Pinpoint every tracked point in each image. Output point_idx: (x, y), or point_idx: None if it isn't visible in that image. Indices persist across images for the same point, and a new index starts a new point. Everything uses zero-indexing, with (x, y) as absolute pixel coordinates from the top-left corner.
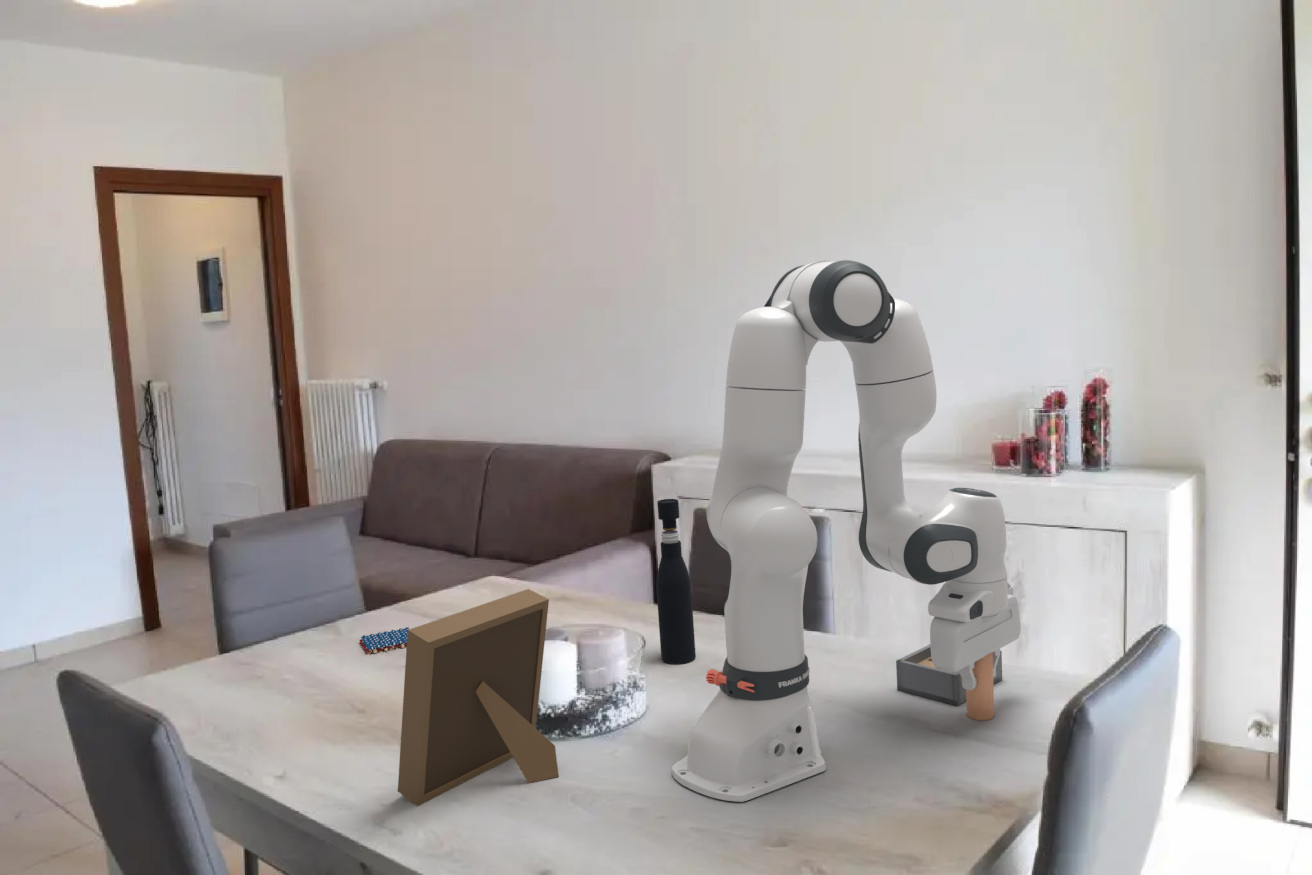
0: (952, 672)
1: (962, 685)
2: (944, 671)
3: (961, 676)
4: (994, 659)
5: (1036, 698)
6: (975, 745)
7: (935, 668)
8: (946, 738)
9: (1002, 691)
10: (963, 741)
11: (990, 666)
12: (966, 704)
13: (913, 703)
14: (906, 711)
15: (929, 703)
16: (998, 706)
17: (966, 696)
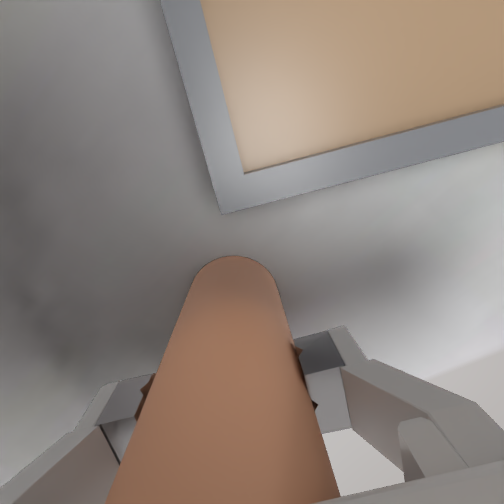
0: (236, 164)
1: (99, 390)
2: (209, 112)
3: (61, 440)
4: (397, 461)
5: (476, 304)
6: (72, 427)
7: (197, 18)
8: (24, 358)
9: (460, 194)
10: (58, 396)
11: None
12: (193, 286)
13: (99, 55)
14: (23, 107)
15: (157, 102)
16: (335, 280)
17: (183, 307)
